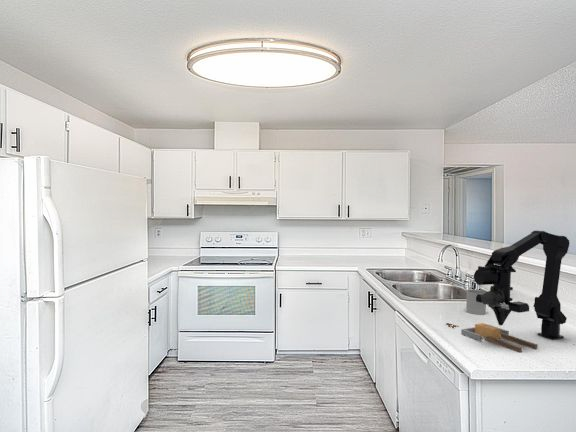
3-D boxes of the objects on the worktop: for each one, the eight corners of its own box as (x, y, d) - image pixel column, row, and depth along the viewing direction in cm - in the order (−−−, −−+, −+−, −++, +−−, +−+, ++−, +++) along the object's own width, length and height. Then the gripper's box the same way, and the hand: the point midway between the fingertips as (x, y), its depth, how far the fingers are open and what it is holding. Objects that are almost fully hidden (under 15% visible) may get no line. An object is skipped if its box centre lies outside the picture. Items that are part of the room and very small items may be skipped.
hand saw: (407, 316, 189) (407, 314, 189) (414, 314, 192) (414, 313, 192) (453, 329, 169) (453, 328, 169) (460, 327, 172) (460, 326, 172)
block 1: (482, 332, 165) (482, 322, 164) (490, 335, 161) (491, 325, 161) (474, 333, 163) (475, 323, 163) (483, 336, 159) (483, 326, 159)
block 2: (490, 335, 161) (491, 325, 161) (499, 338, 157) (500, 328, 157) (483, 336, 159) (483, 326, 159) (492, 340, 156) (492, 329, 156)
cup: (486, 315, 190) (487, 294, 190) (467, 313, 192) (467, 292, 192) (484, 311, 198) (484, 290, 198) (465, 309, 200) (466, 289, 200)
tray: (489, 329, 168) (489, 324, 168) (508, 336, 160) (508, 331, 160) (461, 334, 162) (461, 329, 162) (480, 341, 154) (480, 335, 154)
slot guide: (502, 336, 159) (502, 333, 159) (537, 348, 147) (537, 344, 146) (485, 339, 155) (485, 336, 155) (519, 352, 143) (519, 348, 143)
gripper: (466, 280, 159) (464, 320, 160) (509, 290, 142) (508, 335, 143) (486, 279, 164) (485, 317, 164) (530, 288, 147) (529, 331, 147)
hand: (500, 325), depth 155 cm, fingers closed
